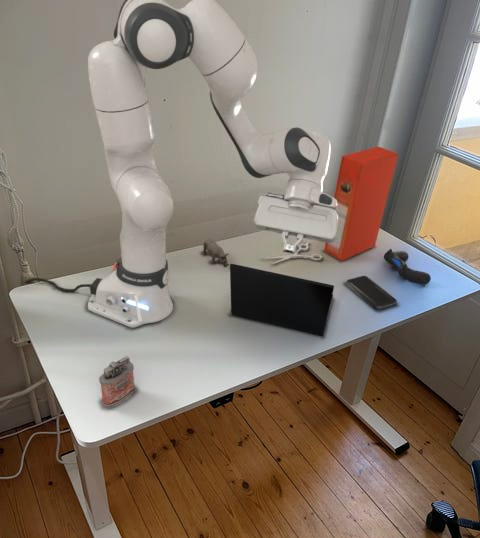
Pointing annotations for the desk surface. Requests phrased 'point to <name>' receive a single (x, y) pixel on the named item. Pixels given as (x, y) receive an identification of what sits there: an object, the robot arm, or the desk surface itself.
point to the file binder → (361, 200)
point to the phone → (371, 292)
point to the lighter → (117, 382)
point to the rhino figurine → (215, 252)
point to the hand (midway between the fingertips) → (288, 252)
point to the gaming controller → (406, 267)
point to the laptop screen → (280, 298)
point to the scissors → (299, 255)
